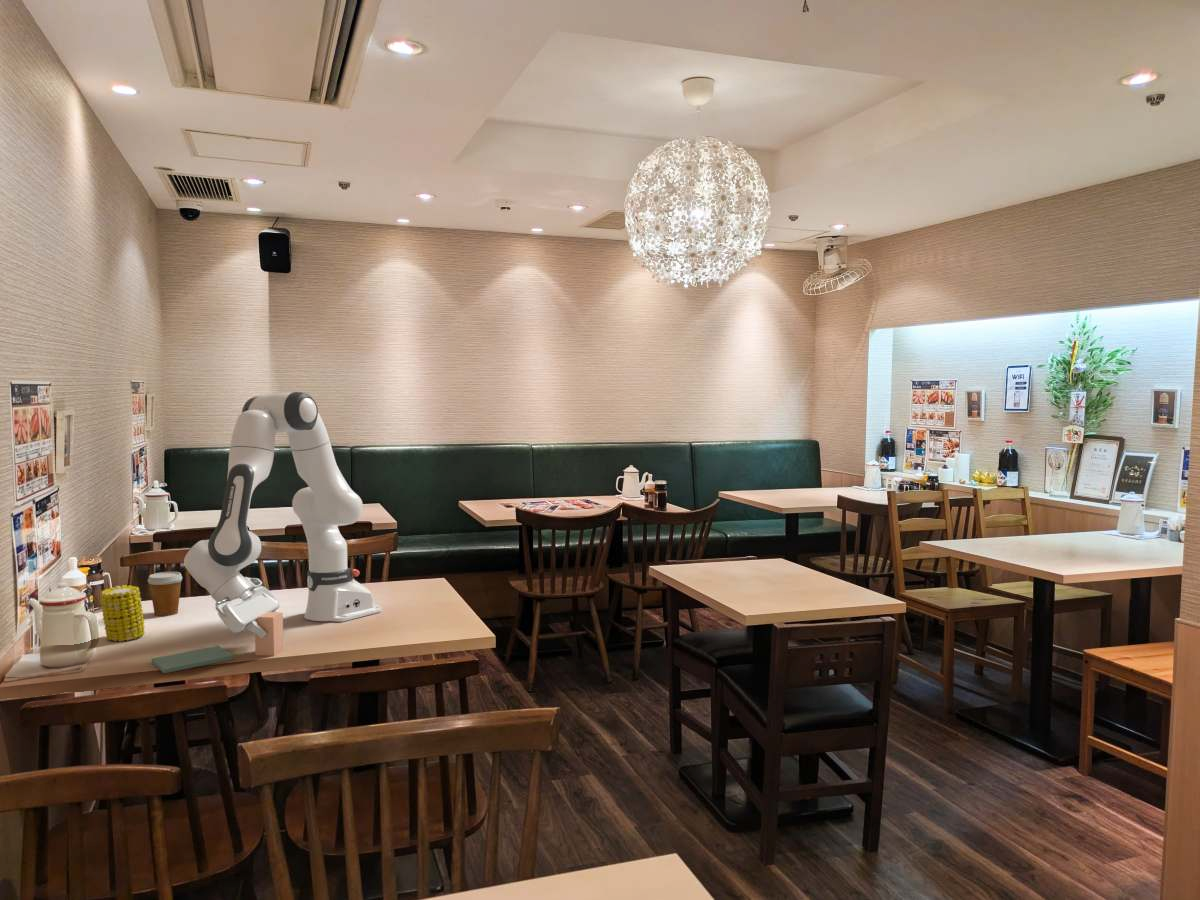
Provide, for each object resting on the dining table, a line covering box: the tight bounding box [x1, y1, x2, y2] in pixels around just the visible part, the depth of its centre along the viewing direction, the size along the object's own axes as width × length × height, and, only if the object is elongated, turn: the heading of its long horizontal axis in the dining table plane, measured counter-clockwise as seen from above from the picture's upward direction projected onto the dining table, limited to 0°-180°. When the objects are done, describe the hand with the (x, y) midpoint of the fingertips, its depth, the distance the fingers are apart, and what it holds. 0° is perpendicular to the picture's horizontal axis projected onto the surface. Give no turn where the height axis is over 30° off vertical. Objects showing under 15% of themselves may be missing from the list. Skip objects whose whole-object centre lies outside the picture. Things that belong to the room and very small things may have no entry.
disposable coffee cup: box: [146, 571, 184, 617], centre depth 254 cm, size 10×10×12 cm
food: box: [99, 584, 146, 643], centre depth 228 cm, size 15×12×10 cm
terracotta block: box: [254, 611, 284, 657], centre depth 216 cm, size 5×5×10 cm
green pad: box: [150, 645, 234, 674], centre depth 209 cm, size 16×11×1 cm
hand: (271, 632), depth 216 cm, fingers closed on terracotta block, 5 cm apart
